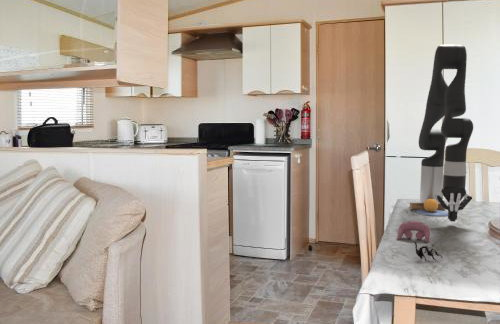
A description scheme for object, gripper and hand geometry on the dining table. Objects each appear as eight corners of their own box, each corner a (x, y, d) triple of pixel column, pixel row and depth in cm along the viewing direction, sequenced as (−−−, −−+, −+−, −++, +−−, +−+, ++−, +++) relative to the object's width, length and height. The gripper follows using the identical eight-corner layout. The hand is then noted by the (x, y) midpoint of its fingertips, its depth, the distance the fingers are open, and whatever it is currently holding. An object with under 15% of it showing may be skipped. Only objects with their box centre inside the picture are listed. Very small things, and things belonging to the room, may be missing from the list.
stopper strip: (409, 208, 213) (410, 202, 212) (443, 209, 212) (443, 203, 212) (411, 209, 211) (411, 203, 210) (444, 209, 210) (445, 204, 210)
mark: (412, 209, 210) (412, 209, 210) (444, 210, 210) (444, 209, 209) (421, 215, 197) (421, 215, 197) (455, 216, 197) (455, 216, 197)
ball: (426, 198, 203) (426, 211, 202) (439, 198, 203) (440, 212, 202) (421, 198, 208) (422, 211, 208) (435, 198, 208) (435, 212, 208)
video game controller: (429, 245, 159) (431, 224, 162) (429, 242, 155) (430, 220, 158) (397, 241, 163) (400, 221, 166) (396, 238, 160) (398, 217, 162)
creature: (434, 259, 143) (408, 253, 142) (439, 241, 142) (413, 235, 141) (447, 268, 135) (419, 262, 134) (452, 249, 134) (424, 243, 134)
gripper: (469, 172, 183) (466, 219, 185) (432, 172, 184) (430, 218, 185) (477, 175, 176) (474, 223, 177) (439, 174, 176) (437, 223, 178)
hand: (452, 221), depth 181 cm, fingers closed
